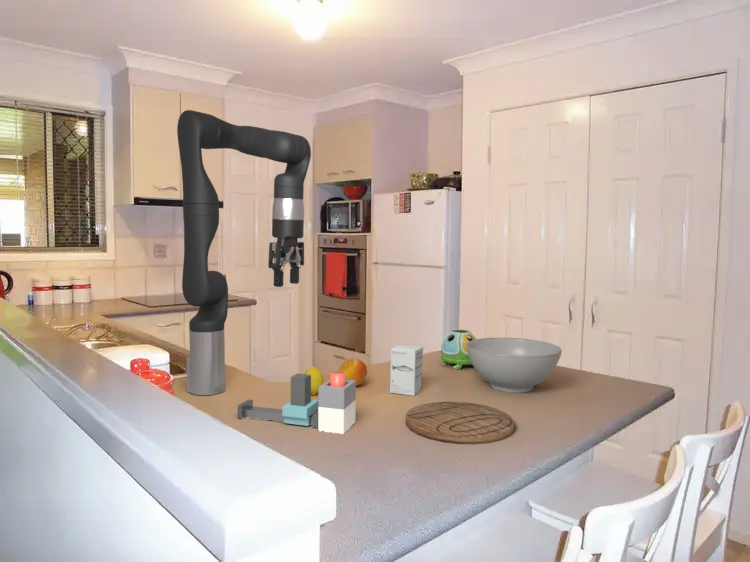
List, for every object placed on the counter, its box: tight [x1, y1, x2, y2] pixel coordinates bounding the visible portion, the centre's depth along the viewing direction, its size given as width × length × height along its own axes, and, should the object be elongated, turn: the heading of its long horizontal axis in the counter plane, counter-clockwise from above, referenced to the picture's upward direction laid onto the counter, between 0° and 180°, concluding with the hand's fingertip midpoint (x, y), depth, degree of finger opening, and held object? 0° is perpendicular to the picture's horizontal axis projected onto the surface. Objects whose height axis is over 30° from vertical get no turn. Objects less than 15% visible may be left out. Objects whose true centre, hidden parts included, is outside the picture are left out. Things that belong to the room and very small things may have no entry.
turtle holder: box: [440, 328, 477, 370], centre depth 186 cm, size 12×18×12 cm
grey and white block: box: [317, 379, 357, 435], centre depth 126 cm, size 6×8×10 cm
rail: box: [237, 399, 318, 429], centre depth 130 cm, size 20×5×3 cm, turn 73°
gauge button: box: [329, 371, 345, 387], centre depth 126 cm, size 3×3×6 cm
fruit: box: [337, 357, 368, 387], centre depth 160 cm, size 8×8×8 cm
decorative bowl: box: [466, 337, 563, 394], centre depth 161 cm, size 27×27×12 cm
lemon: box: [304, 366, 325, 396], centre depth 151 cm, size 6×6×8 cm
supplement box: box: [389, 344, 424, 397], centre depth 155 cm, size 7×7×13 cm
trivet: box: [405, 401, 515, 445], centre depth 129 cm, size 25×25×2 cm
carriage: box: [281, 373, 319, 427], centre depth 129 cm, size 6×7×11 cm
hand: (286, 285), depth 135 cm, fingers open, 8 cm apart
